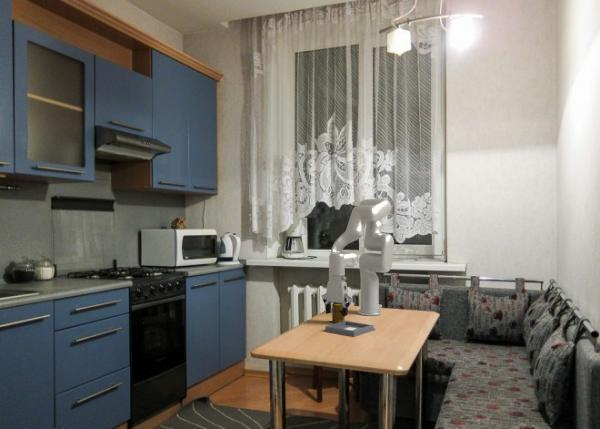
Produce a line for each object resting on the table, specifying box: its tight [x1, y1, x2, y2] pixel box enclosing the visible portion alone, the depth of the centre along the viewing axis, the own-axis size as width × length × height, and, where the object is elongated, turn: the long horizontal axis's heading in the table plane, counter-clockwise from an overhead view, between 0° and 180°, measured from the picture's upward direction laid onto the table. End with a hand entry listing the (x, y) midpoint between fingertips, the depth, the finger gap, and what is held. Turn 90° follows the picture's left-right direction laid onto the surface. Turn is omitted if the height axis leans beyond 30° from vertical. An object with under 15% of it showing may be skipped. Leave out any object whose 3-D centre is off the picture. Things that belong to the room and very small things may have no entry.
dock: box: [323, 320, 376, 338], centre depth 220 cm, size 17×16×2 cm
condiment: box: [326, 302, 346, 325], centre depth 237 cm, size 7×8×12 cm
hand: (336, 314), depth 236 cm, fingers open, 9 cm apart
